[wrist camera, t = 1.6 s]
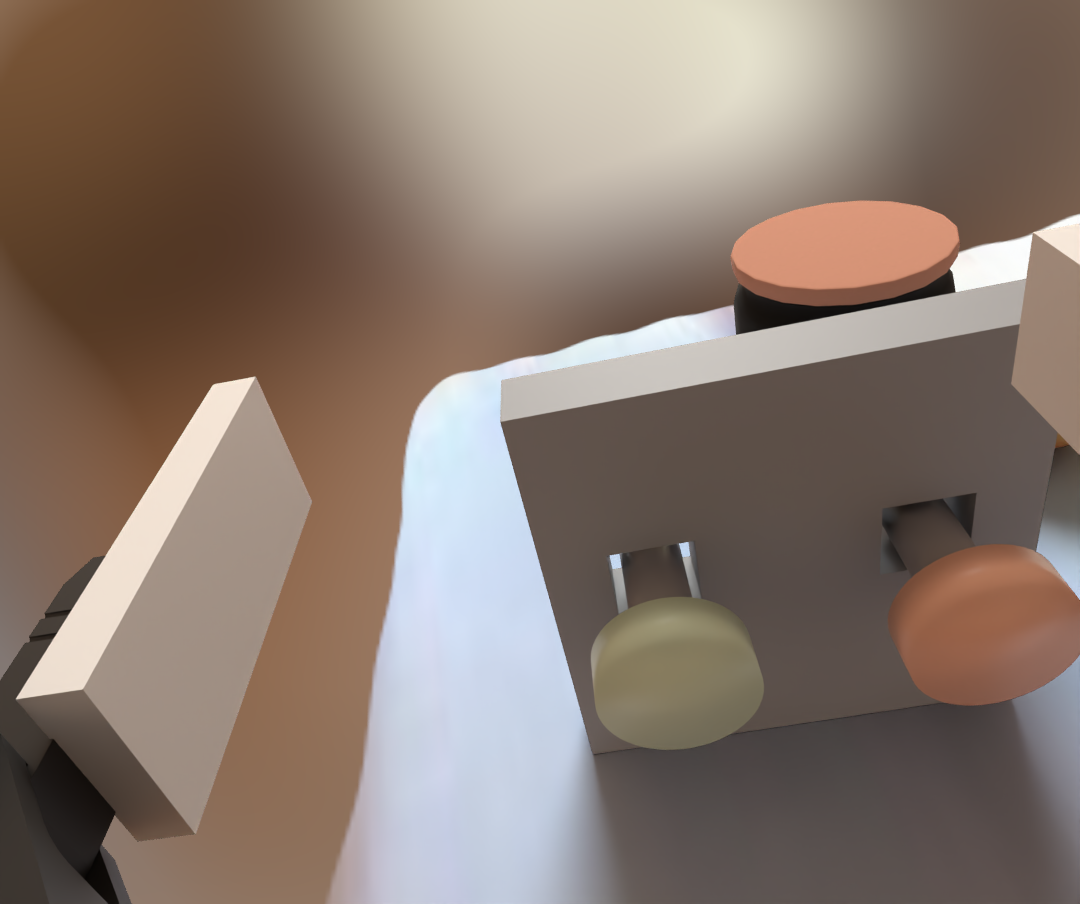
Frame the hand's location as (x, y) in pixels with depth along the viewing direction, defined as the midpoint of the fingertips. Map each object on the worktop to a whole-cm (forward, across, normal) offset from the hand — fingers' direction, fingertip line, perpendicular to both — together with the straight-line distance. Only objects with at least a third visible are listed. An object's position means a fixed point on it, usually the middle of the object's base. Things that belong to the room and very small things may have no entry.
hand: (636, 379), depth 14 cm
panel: (+15, +5, -28) cm, 32 cm away
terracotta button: (+11, +11, -20) cm, 26 cm away
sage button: (+11, 0, -20) cm, 23 cm away
